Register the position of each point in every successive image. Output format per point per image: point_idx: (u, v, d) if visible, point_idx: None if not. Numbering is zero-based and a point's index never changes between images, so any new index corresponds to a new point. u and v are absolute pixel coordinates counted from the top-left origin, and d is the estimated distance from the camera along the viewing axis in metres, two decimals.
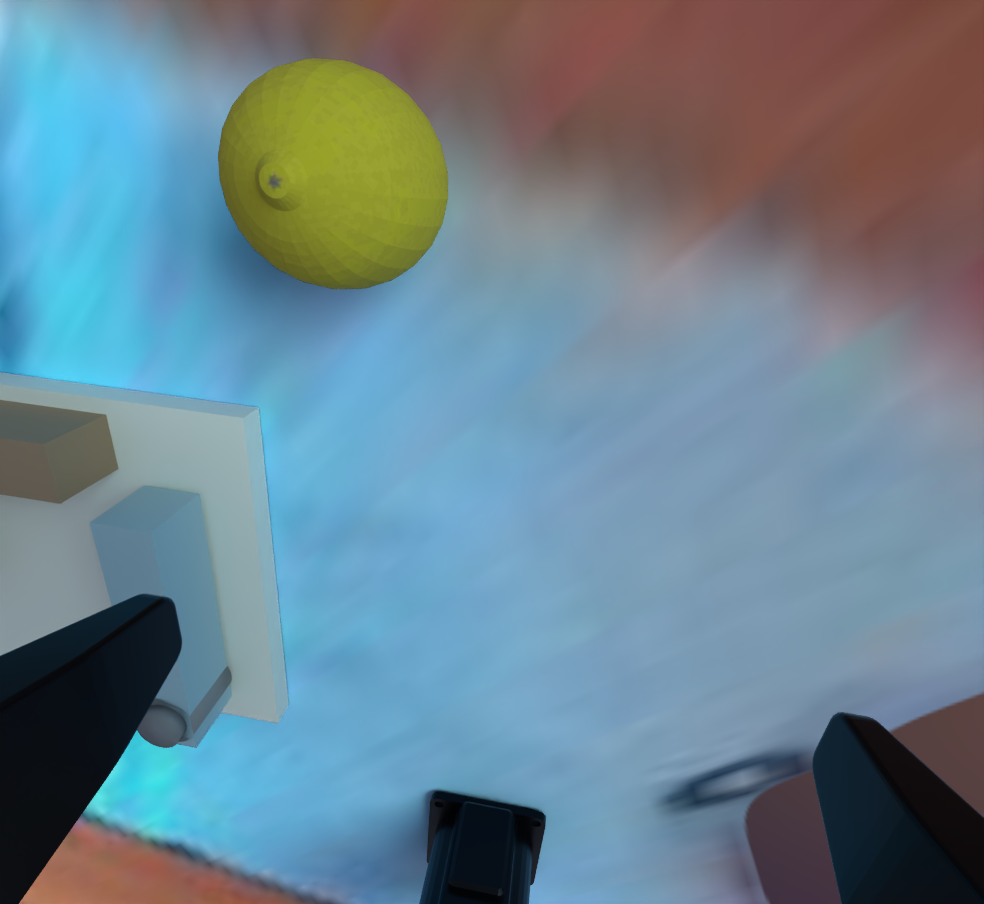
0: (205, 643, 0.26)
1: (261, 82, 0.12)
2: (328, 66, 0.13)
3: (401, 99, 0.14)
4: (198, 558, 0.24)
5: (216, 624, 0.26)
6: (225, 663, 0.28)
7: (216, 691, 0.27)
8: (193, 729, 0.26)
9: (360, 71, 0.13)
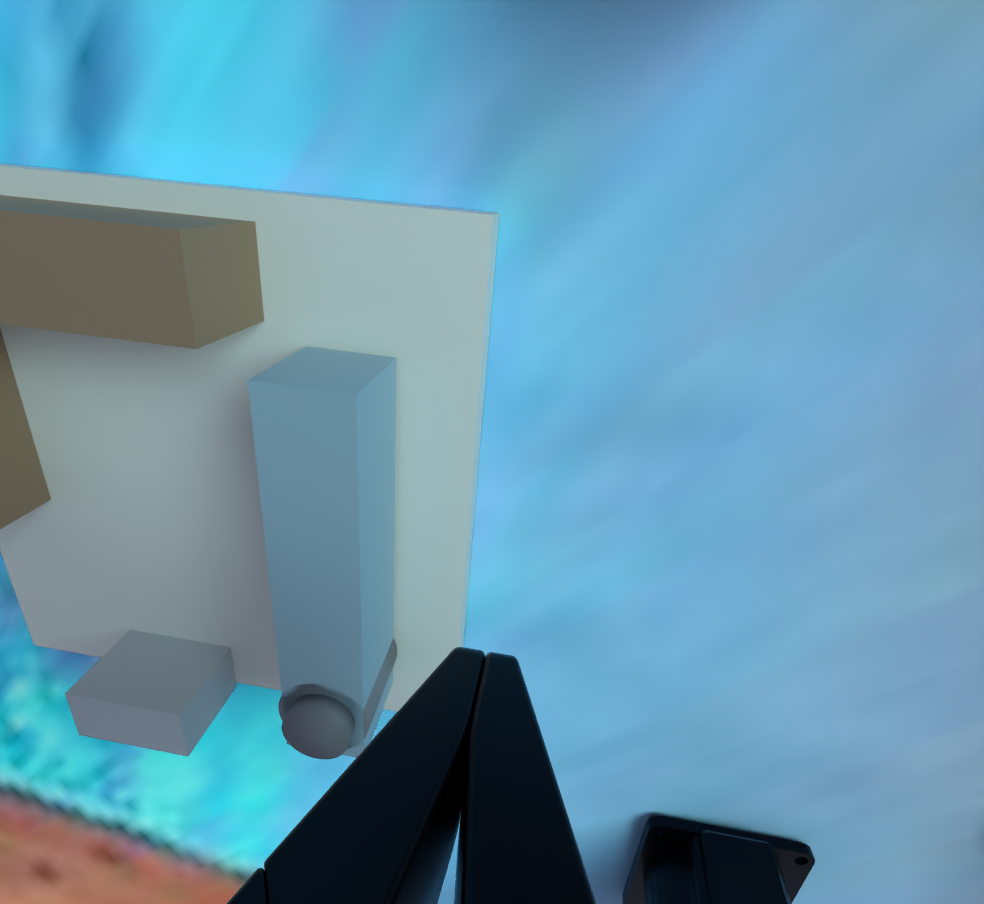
0: (382, 601, 0.17)
1: None
2: None
3: None
4: (387, 463, 0.15)
5: (391, 574, 0.18)
6: (392, 634, 0.19)
7: (386, 674, 0.18)
8: (364, 732, 0.17)
9: None
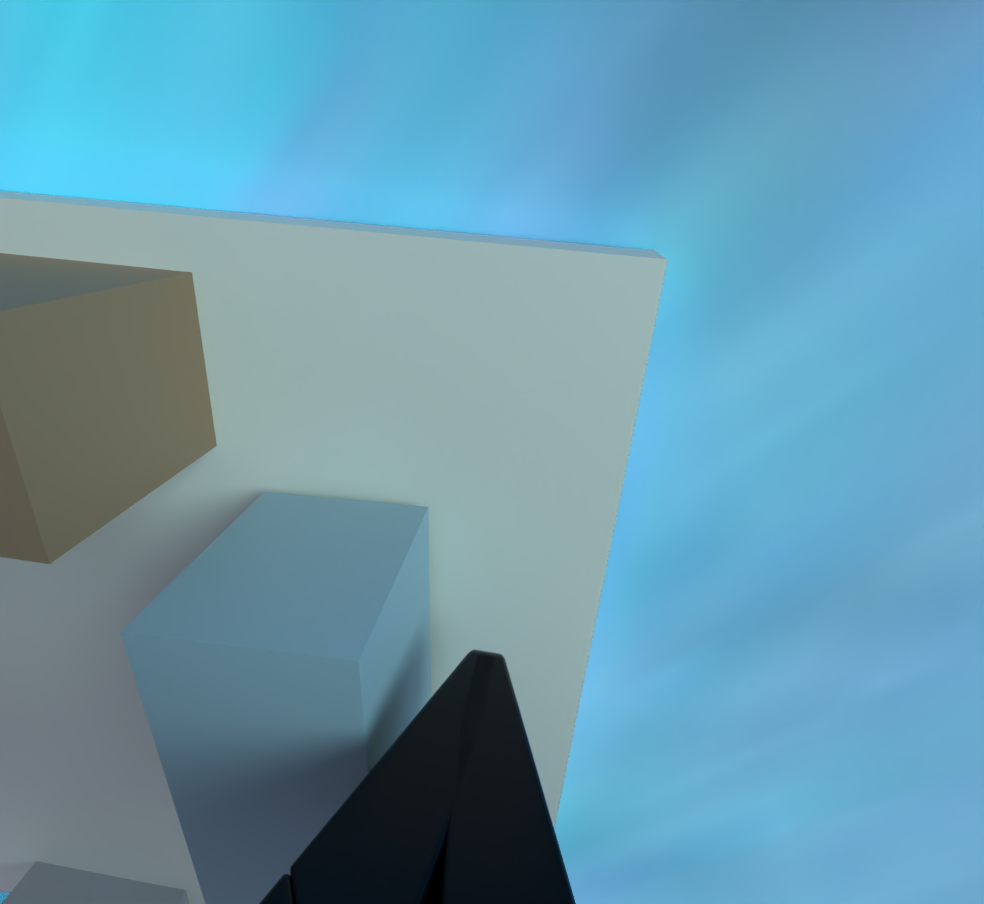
0: None
1: None
2: None
3: None
4: (420, 688, 0.09)
5: None
6: None
7: None
8: None
9: None
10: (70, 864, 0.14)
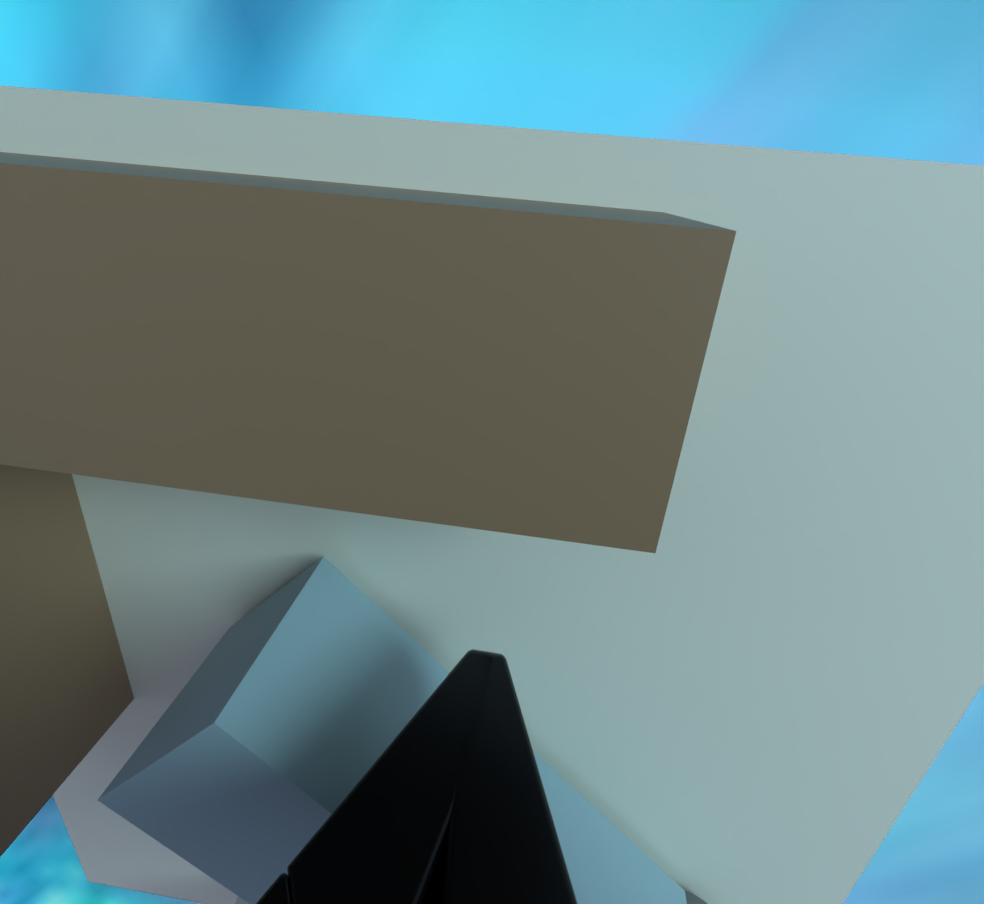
0: (609, 890, 0.09)
1: None
2: None
3: None
4: None
5: (597, 824, 0.10)
6: (678, 889, 0.11)
7: None
8: None
9: None
10: None
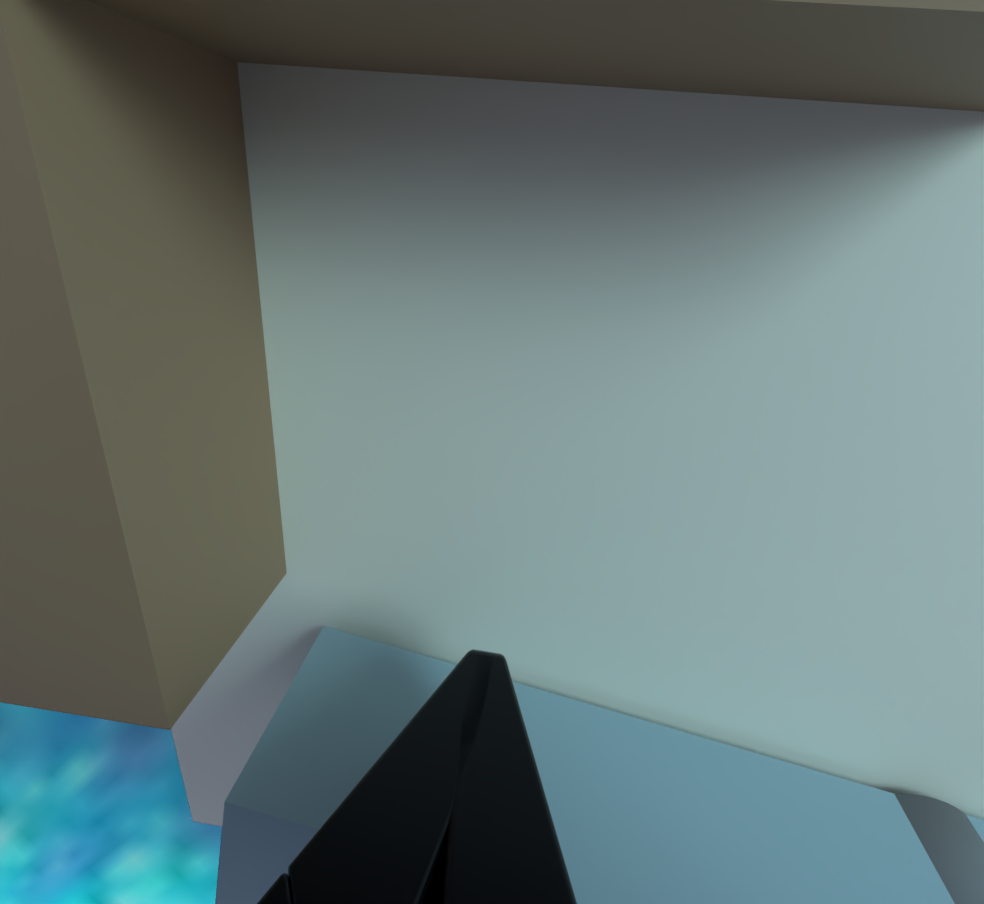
0: (765, 822, 0.08)
1: None
2: None
3: None
4: None
5: (730, 759, 0.09)
6: (883, 795, 0.09)
7: (970, 876, 0.08)
8: None
9: None
10: None
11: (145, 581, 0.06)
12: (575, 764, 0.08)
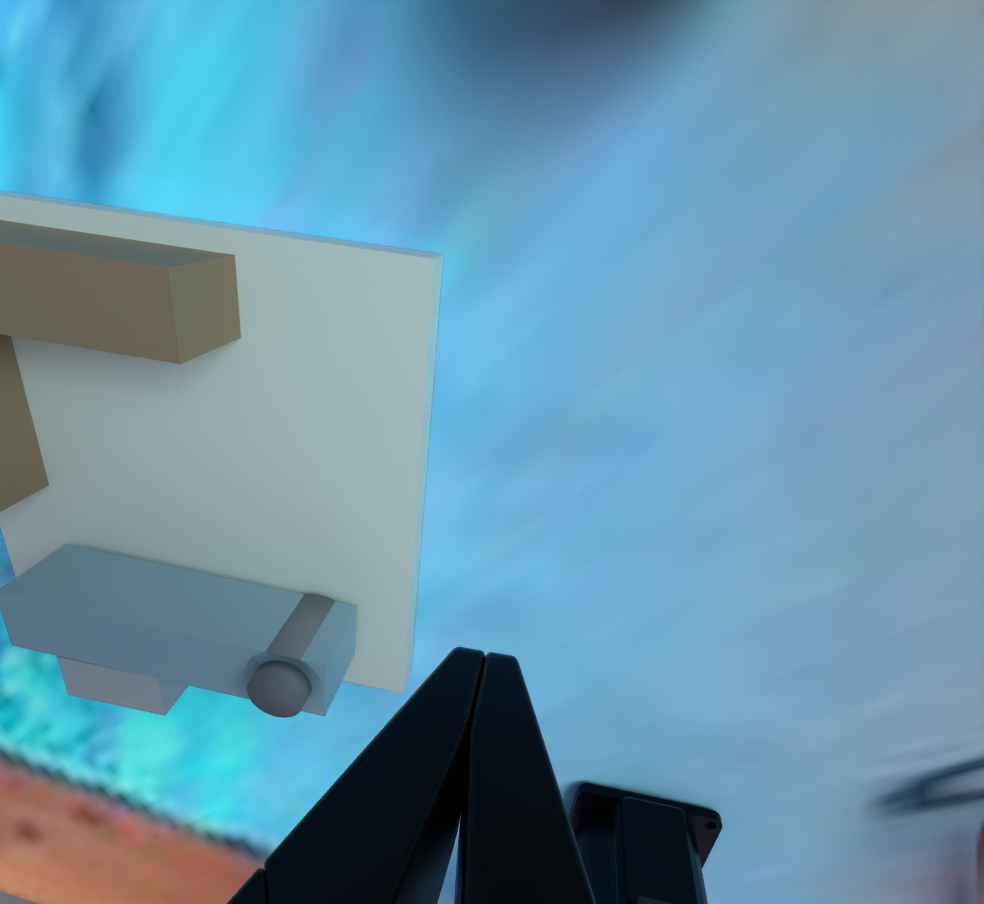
0: (221, 601, 0.21)
1: None
2: None
3: None
4: (118, 569, 0.21)
5: (228, 583, 0.22)
6: (297, 594, 0.22)
7: (300, 615, 0.20)
8: (290, 656, 0.19)
9: None
10: None
11: None
12: (147, 584, 0.21)
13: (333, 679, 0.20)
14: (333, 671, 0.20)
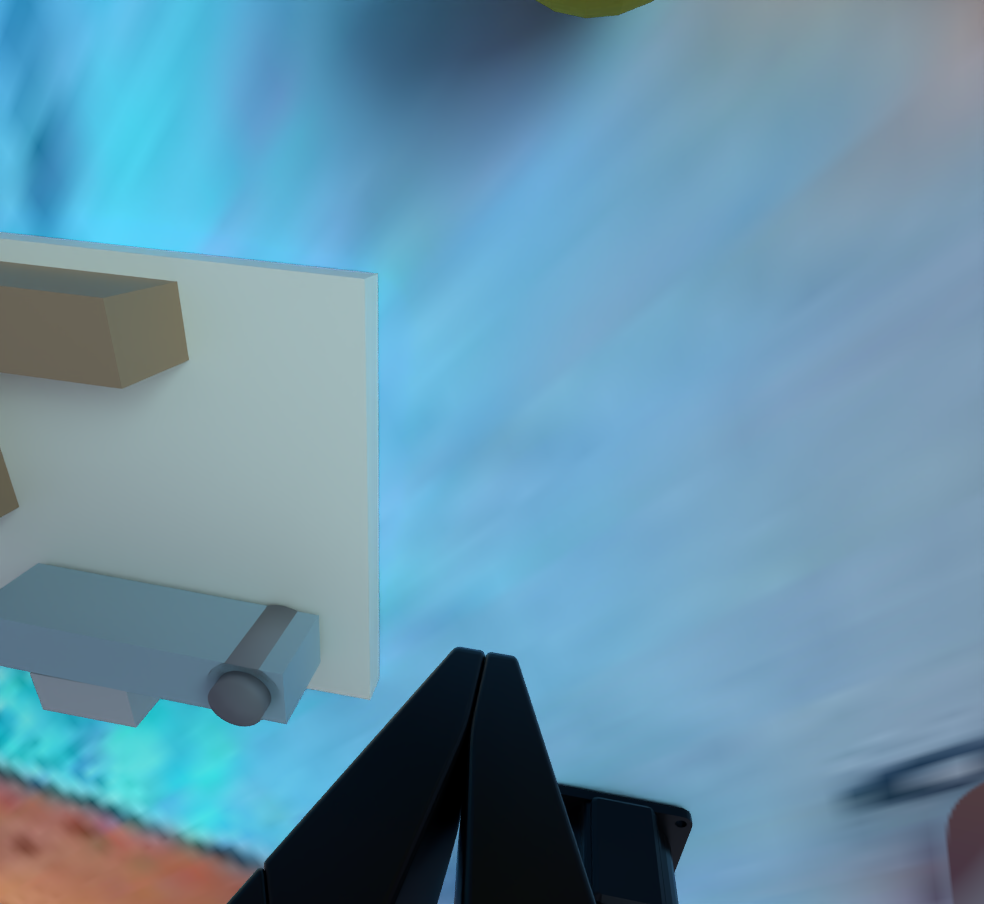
0: (185, 614, 0.21)
1: None
2: None
3: None
4: (88, 586, 0.22)
5: (194, 597, 0.22)
6: (260, 606, 0.22)
7: (261, 626, 0.21)
8: (248, 666, 0.19)
9: None
10: None
11: None
12: (115, 600, 0.22)
13: (294, 688, 0.21)
14: (293, 680, 0.20)
